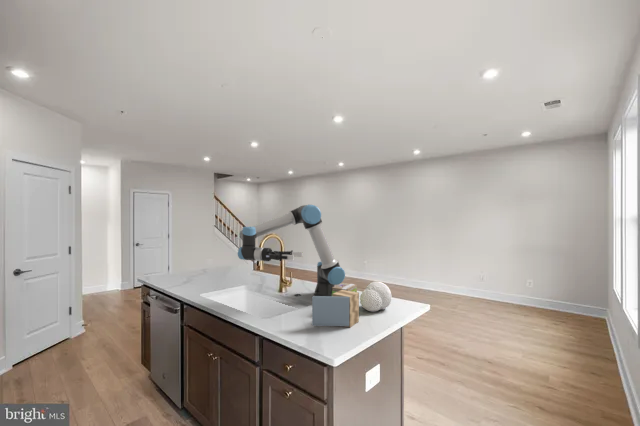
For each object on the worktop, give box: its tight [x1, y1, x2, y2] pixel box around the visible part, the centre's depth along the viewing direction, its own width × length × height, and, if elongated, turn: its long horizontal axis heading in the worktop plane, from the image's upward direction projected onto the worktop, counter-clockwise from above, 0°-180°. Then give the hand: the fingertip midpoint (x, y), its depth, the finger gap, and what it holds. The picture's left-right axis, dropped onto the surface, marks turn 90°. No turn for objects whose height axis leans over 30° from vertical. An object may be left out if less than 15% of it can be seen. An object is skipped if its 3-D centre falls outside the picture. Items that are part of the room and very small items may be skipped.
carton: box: [332, 290, 360, 328], centre depth 154 cm, size 10×10×15 cm
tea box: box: [332, 282, 358, 294], centre depth 172 cm, size 15×10×15 cm, turn 153°
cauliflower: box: [359, 281, 393, 313], centre depth 176 cm, size 20×18×16 cm
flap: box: [311, 295, 349, 327], centre depth 147 cm, size 1×18×14 cm, turn 89°
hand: (298, 256), depth 167 cm, fingers open, 13 cm apart
